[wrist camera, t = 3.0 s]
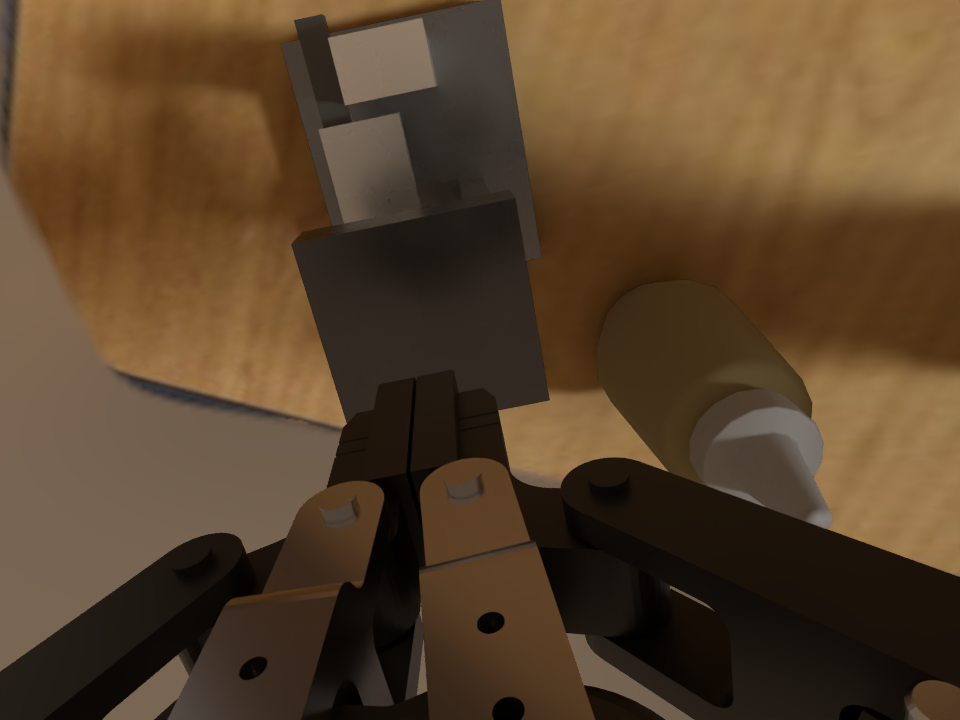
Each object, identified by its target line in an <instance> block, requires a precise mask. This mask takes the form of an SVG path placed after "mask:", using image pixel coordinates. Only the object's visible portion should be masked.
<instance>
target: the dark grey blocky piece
mask: <svg viewBox="0 0 960 720" xmlns="http://www.w3.org/2000/svg"><path fill="white" fill-rule="evenodd" d="M319 134H320V137H321V141H322V145H323V148H324V152H325V156H326V159H327V163H328V167H329V170H330V174H331V177H332V181H333V185H334V188H335V192H336V196H337V199H338V203H339V207H340V210H341V214H342V218H343V221H344V224H340V225H335V226H330V227H325V228H320V229H315V230H310V231H306V232H302V233H301V234H300V235H299V236H298V237H297V238H296V239H295V241H294V242H293V243H292V244H291V245H292V248H293V251H294V255H295V258H296V261H297V264H298V267H299V271H300V274H301V277H302V280H303V284H304V287H305V290H306V293H307V296H308V300H309V303H310V306H311V309H312V313H313V316H314V319H315V322H316V325H317V329H318V332H319V335H320V338H321V342H322V345H323V348H324V351H325V354H326V358H327V361H328V364H329V367H330V371H331V374H332V377H333V380H334V384H335V387H336V390H337V393H338V396H339V400H340V403H341V406H342V409H343V413H344V416H345V419H346V422H347V423H348V422H349V421H350V420H351V419H352V418H353V417H354V416H355V414H356V413H359V412H364V411H369V410H374V405H375V400H376V394H377V389H378V385H379V384H383V383H388V382H393V381H398V380H403V379H408V378H413V377H415V378H416V380H417V377H418V376H423V375H428V374H433V373H438V372H443V371H448V370H453V371H454V374H455V378H456V382H457V386H458V391H459V392H464V391H469V390H474V389H479V388H484V389H485V390H486V391H488V392H489V393H490V394H492V395H493V396H494V397H495V398H496V403H497V407H498V410H503V409H508V408H513V407H518V406H523V405H528V404H533V403H538V402H543V401H548V400H550V399H549V393H548V387H547V381H546V375H545V369H544V363H543V358H542V352H541V346H540V340H539V334H538V328H537V322H536V316H535V310H534V304H533V298H532V292H531V287H530V281H529V275H528V269H527V263H526V257H525V251H524V245H523V239H522V233H521V227H520V221H519V216H518V210H517V204H516V198H515V196H514V195H513V193H512V192H511V190H505V191H500V192H495V193H490V194H485V195H481V196H476V197H471V198H466V199H461V200H456V201H451V202H447V203H442V204H437V205H432V206H427V207H422V208H421V204H420V200H419V195H418V191H417V186H416V182H415V178H414V173H413V169H412V164H411V160H410V156H409V151H408V147H407V142H406V138H405V133H404V129H403V125H402V120H401V116H400V112H397V113H392V114H387V115H383V116H378V117H373V118H368V119H364V120H359V121H354V122H349V123H344V124H340V125H335V126H330V127H325V128H321V129H319Z"/></svg>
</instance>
